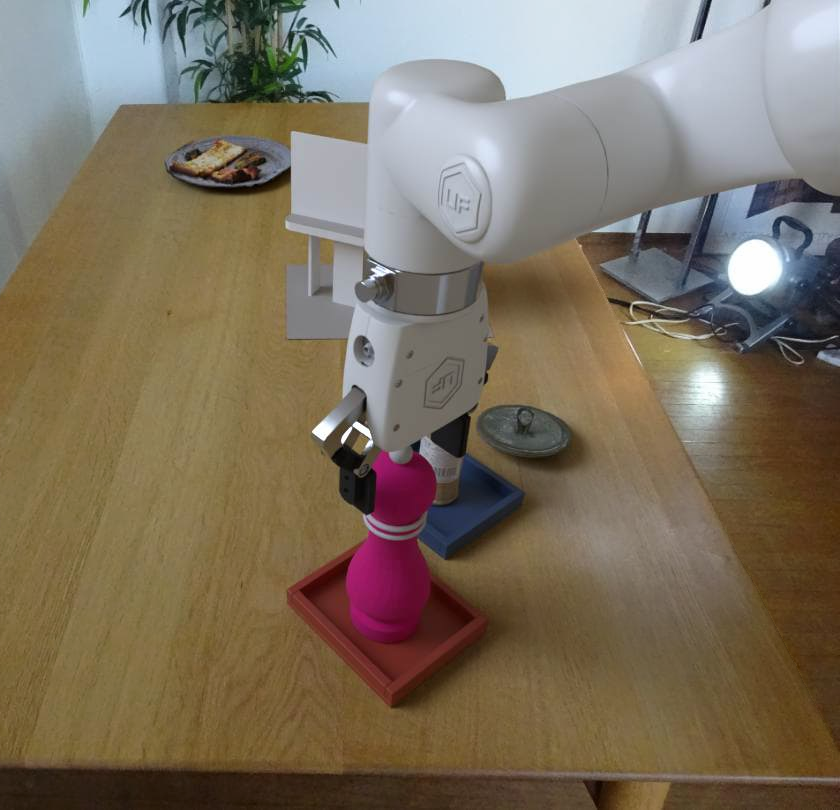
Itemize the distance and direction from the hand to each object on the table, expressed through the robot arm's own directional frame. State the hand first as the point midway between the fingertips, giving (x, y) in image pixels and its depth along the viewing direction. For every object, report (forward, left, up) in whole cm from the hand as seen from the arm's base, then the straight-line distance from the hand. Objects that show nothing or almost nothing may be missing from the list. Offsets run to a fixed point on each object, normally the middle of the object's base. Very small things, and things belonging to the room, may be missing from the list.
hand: (403, 475), depth 61 cm
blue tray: (+8, -15, -18) cm, 24 cm away
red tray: (0, 0, -18) cm, 18 cm away
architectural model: (+41, -39, -18) cm, 60 cm away
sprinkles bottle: (+8, -15, -17) cm, 24 cm away
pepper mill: (0, 0, -17) cm, 17 cm away
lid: (+8, -29, -18) cm, 35 cm away
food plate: (+95, -50, -18) cm, 109 cm away
